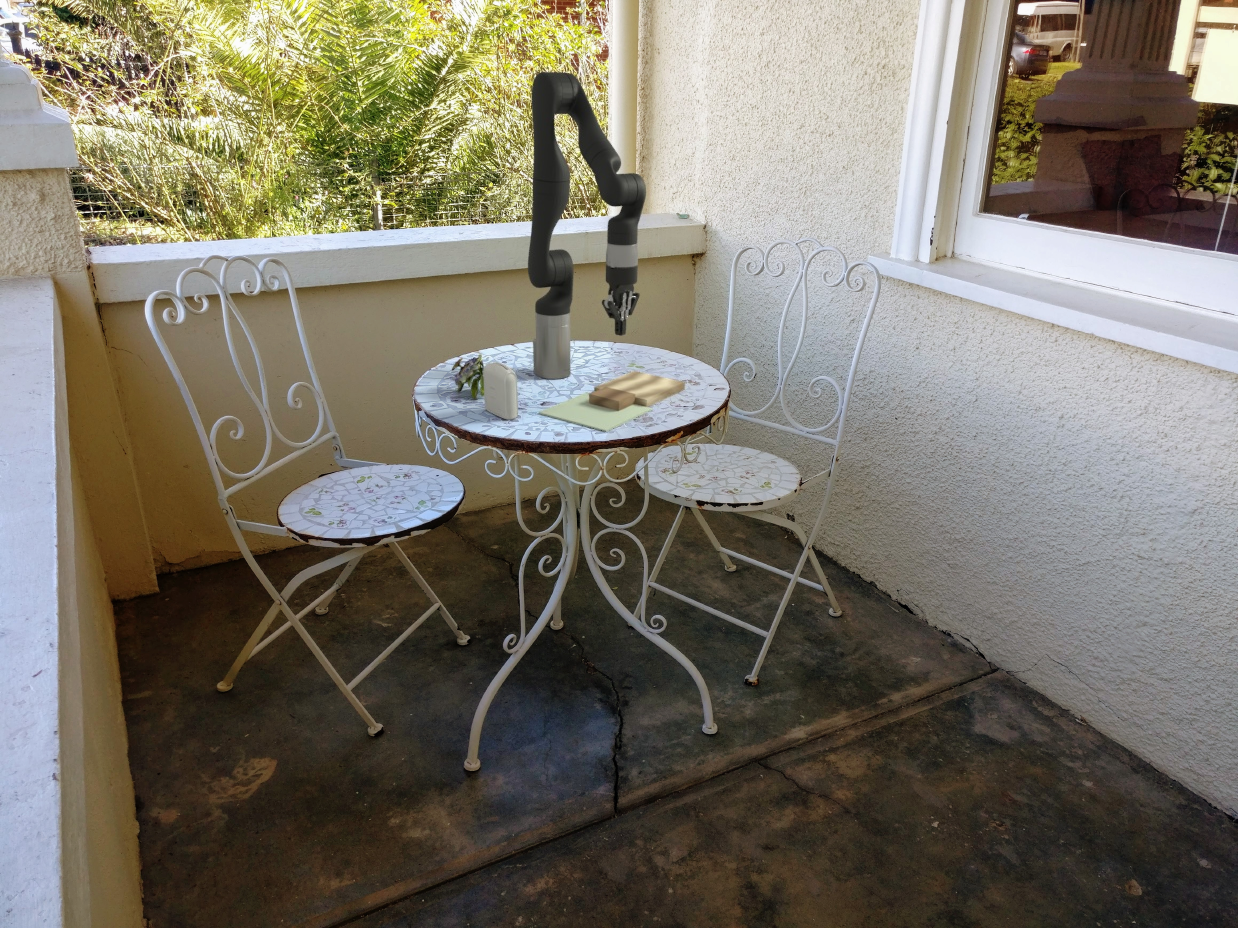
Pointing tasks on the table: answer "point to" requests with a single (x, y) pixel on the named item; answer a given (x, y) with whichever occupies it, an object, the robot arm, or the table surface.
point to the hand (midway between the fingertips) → (620, 334)
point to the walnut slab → (612, 398)
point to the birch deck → (645, 387)
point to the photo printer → (500, 390)
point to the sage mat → (593, 413)
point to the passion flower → (470, 375)
